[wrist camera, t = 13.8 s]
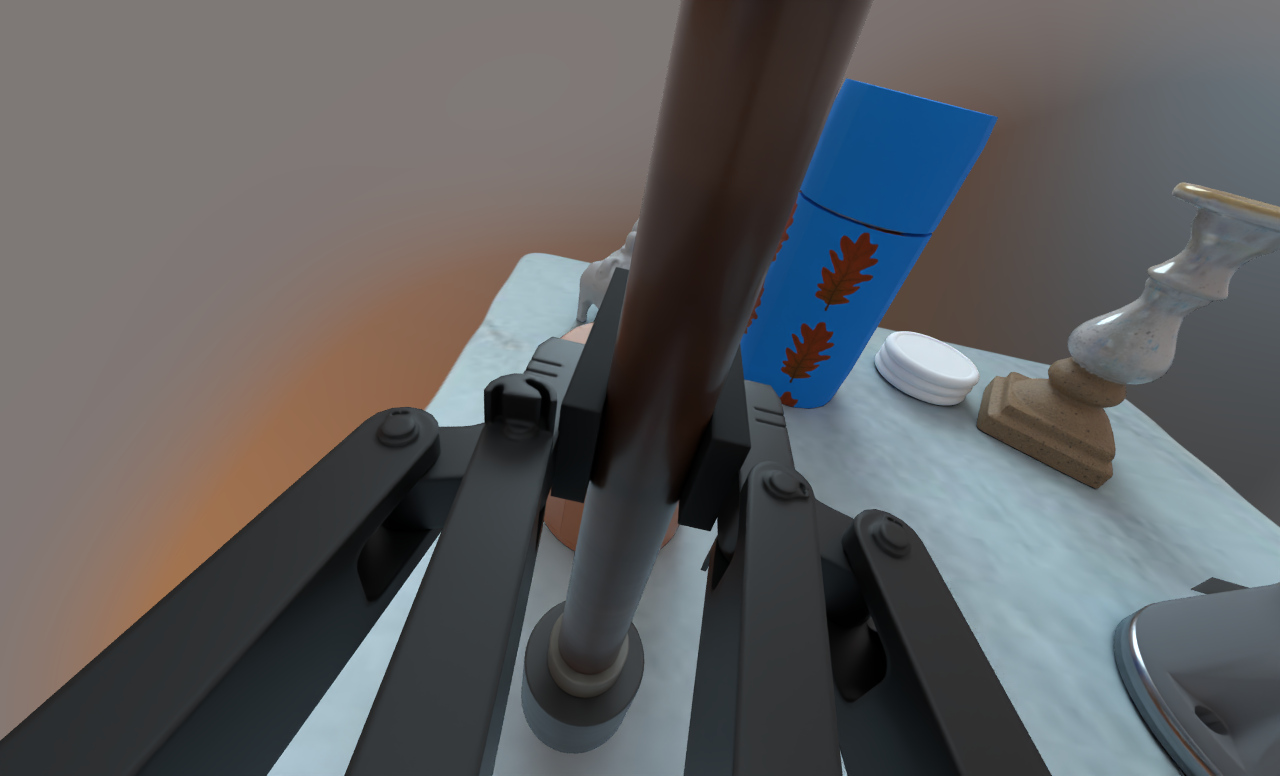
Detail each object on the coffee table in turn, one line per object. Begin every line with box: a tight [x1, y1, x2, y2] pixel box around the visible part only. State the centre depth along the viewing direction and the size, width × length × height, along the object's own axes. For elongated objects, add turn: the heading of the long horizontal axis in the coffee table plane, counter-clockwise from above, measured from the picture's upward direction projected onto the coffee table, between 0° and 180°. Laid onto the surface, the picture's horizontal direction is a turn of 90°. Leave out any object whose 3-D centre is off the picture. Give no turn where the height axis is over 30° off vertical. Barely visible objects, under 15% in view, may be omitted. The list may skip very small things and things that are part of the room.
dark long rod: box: [521, 0, 873, 753], centre depth 12 cm, size 4×4×24 cm
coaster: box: [875, 331, 980, 405], centre depth 52 cm, size 10×10×4 cm
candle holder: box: [977, 183, 1280, 489], centre depth 42 cm, size 11×11×24 cm
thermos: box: [740, 79, 998, 409], centre depth 40 cm, size 11×11×25 cm
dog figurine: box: [577, 219, 639, 322], centre depth 48 cm, size 5×13×11 cm, turn 148°
